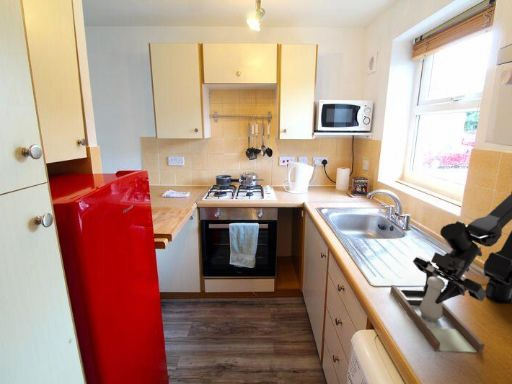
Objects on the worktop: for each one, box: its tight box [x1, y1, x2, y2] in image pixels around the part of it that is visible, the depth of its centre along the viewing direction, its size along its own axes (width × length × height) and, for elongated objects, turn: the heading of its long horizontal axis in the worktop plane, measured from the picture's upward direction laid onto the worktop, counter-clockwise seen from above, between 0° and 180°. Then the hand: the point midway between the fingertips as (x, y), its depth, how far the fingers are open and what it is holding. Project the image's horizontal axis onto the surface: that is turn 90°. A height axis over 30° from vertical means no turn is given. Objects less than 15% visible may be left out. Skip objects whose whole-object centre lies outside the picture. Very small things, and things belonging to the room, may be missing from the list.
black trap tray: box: [397, 288, 424, 307], centre depth 92 cm, size 9×6×2 cm, turn 88°
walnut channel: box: [390, 284, 485, 354], centre depth 84 cm, size 12×26×2 cm, turn 178°
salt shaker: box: [419, 276, 446, 323], centre depth 82 cm, size 6×6×13 cm
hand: (429, 299), depth 82 cm, fingers closed on salt shaker, 3 cm apart
